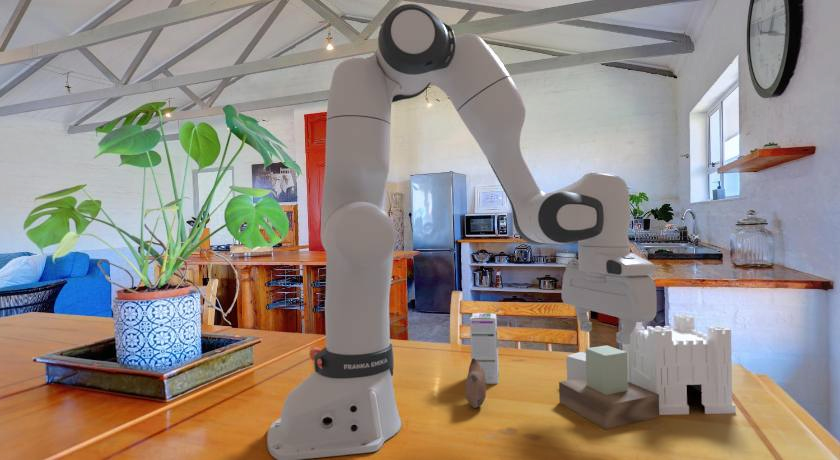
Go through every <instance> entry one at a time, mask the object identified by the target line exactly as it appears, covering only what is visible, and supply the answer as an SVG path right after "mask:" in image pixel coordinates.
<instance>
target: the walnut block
mask: <svg viewBox="0 0 840 460" xmlns="http://www.w3.org/2000/svg"><path fill="white" fill-rule="evenodd" d="M558 387H559V388H558V389H559V390H558V391H559V392H558V393H559V396H558V397H559V404H561V405H563V406H565V407H566V408H568V409H570V410H572V411H574V412H575V413H576V414H579V415H580V416H582V417H583V418H585V419H587V420H589V421H590V422H591V423H594V424H595V425H597V426H599V427H600V428H602V429H604V430H609V429H613V428H618V427H622V426H626V425H631V424H635V423H639V422H643V421H647V420H648V421H649V420H652V419H656V418H657V419H658V418H660V415H659V394H656V393H654V392H652V391H649V390H647V389H644V388H642V387H640V386H637V385H635V384H633V383H630V382H628V391H623V392H618V393H613V394H608V395H605V394H603V393H601V392H599V391H597V390H595V389H593V388H591V387H589V386H587V385H586V377H585V378H579V379H573V380H568V381H567V380H562V381H559V382H558Z"/></svg>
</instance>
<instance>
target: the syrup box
mask: <svg viewBox="0 0 840 460" xmlns="http://www.w3.org/2000/svg"><path fill="white" fill-rule="evenodd" d="M497 319H498V318H497V313H494V312H476V313H475V312H473V313H472V314H471V316H470V317H469V336H470V337H469V338H470V340H469V341H470V359H471V360H470V362H471V361H472V359H473V358H474V359H476V360H477V361H478V362H479V363H480V365H481V366H482V367H483V370H484V374H485V380H486V385H488V384H489V385H490V384H491V385H498V383H499V375H500V372H499V371H500V370H499V367H500V366H499V346H498V327H497V326H498V324H497Z"/></svg>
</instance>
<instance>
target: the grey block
mask: <svg viewBox="0 0 840 460" xmlns="http://www.w3.org/2000/svg"><path fill="white" fill-rule="evenodd" d="M565 357H566V381H568V380H573V379H579V378H585V377H586V352H584V351H578V352H576V353H571V354H569V355H566V356H565Z"/></svg>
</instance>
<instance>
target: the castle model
mask: <svg viewBox="0 0 840 460" xmlns="http://www.w3.org/2000/svg"><path fill="white" fill-rule="evenodd" d="M622 327H623V325H622V324H621V328H622ZM621 345H622V348H621V349H622V351H625V352H627V368H628V382H630V383H633V384H635V385H637V386H640V387H642V388H644V389H647V390H649V391H652V392H654V393H656V394H659V416H661V415H662V416H665V415H669V416H670V415H690V406H689V404H688V394H687V389H688V388H687V386H690V385H691V386H690V387H692V388H693V387H694V388H693V389H695V390H697V391H699V393H701V392H702V393H701V405H702V406H704V414H706V415H709V414H711V415H713V414H716V415H717V414H721V415H722V414H737V413H736V412H737V409H736V407H737V406H736V405H735V404H734V403H733V379H732V378H733V374H732V373H733V369H732V368H733V367H732V363H733V362H732V329H730V328H727V327H725V326H719V325H718V326H717V325H715V326H707V333H704V332H702V331H698V330H696V329H695V317H694V316H692V315H690V314H685V313H684V314H683V313H681V314H676V313H675V314H673V325H672V327H671V326H670V325H663V326H661V325H655V327H654V326H651V325H650V326H647V325H646V329H645V326H643V322H636V326H635V328H634V330H633V331H632V333H631V334H630V343H629V344H621Z"/></svg>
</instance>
